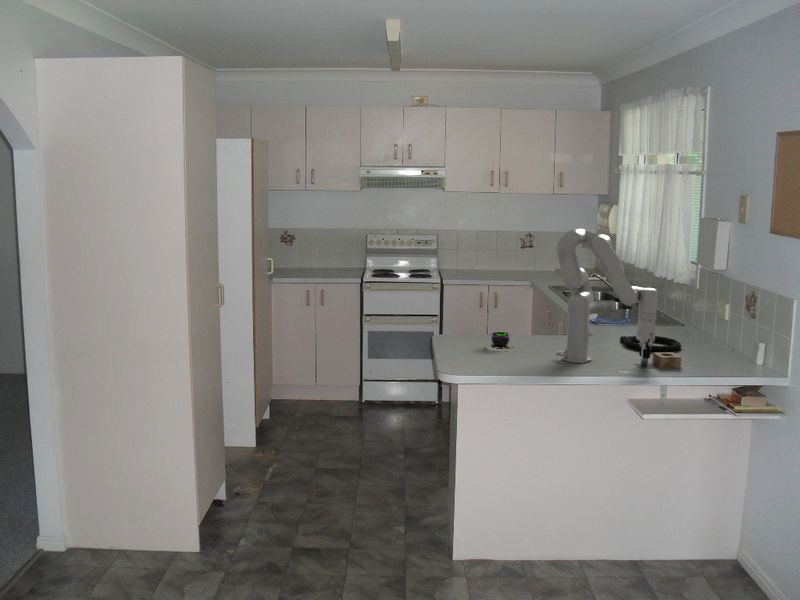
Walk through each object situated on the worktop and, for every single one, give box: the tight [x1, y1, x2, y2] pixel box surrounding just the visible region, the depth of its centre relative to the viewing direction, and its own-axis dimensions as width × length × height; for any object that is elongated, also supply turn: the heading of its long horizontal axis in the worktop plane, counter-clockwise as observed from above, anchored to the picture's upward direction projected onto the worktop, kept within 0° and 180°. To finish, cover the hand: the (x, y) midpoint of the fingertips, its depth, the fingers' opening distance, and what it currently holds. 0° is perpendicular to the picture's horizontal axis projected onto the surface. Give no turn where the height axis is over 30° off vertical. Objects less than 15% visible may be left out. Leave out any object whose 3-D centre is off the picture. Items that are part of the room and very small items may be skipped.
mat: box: [633, 363, 683, 370], centre depth 349 cm, size 19×9×1 cm, turn 95°
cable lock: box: [619, 335, 682, 354], centre depth 389 cm, size 28×4×30 cm
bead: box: [651, 352, 682, 369], centre depth 349 cm, size 9×9×5 cm
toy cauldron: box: [488, 326, 512, 349], centre depth 382 cm, size 15×15×11 cm
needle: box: [640, 341, 649, 367], centre depth 347 cm, size 3×3×14 cm
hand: (644, 356), depth 347 cm, fingers closed on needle, 3 cm apart
